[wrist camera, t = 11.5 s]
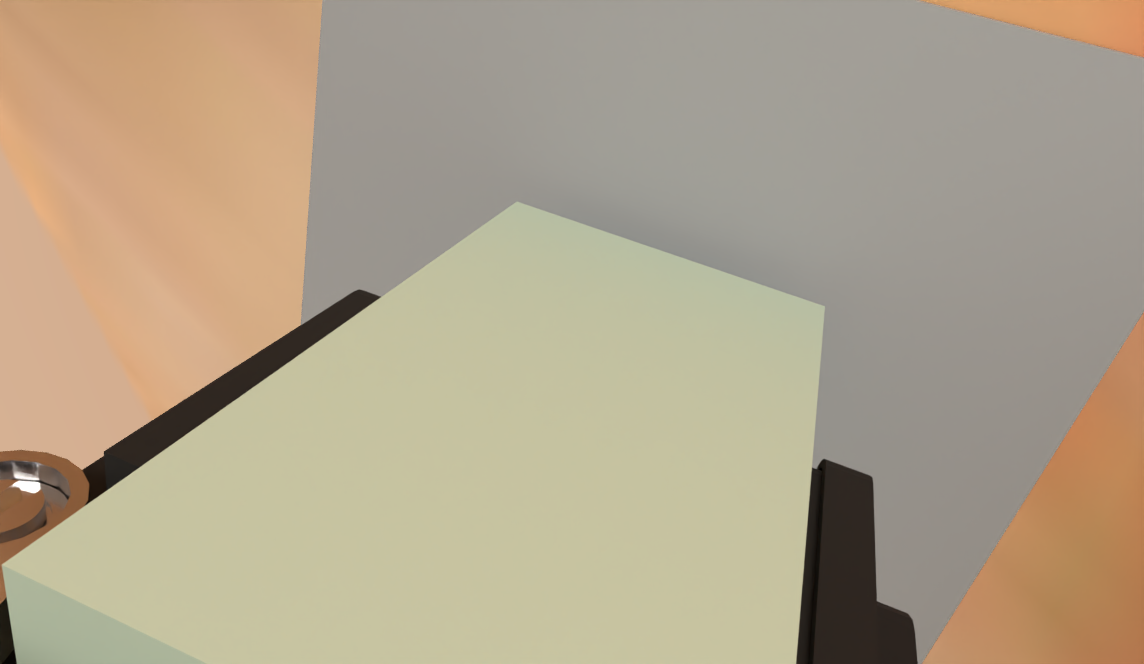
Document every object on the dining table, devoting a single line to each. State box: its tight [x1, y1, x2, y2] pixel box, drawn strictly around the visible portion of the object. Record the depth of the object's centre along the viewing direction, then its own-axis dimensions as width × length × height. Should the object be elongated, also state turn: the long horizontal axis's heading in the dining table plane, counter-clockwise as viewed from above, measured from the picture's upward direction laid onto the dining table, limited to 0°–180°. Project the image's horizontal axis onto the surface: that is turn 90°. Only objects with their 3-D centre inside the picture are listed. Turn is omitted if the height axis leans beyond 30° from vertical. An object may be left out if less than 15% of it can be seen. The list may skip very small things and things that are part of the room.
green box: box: [2, 202, 825, 664], centre depth 9 cm, size 4×4×8 cm
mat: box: [301, 0, 1144, 664], centre depth 13 cm, size 12×12×1 cm
